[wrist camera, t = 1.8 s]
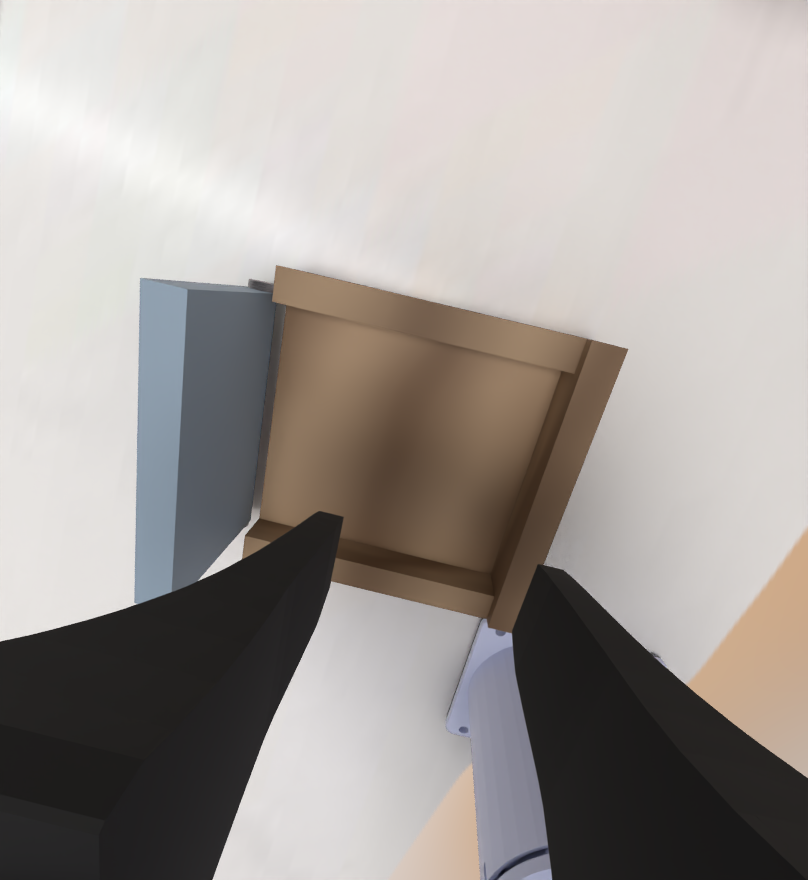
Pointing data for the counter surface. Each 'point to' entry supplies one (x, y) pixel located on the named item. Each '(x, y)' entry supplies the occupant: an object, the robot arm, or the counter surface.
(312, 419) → the wooden tray
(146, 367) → the tailgate
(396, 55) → the counter surface
